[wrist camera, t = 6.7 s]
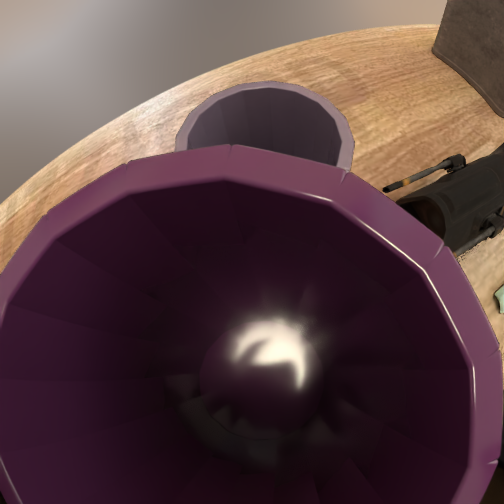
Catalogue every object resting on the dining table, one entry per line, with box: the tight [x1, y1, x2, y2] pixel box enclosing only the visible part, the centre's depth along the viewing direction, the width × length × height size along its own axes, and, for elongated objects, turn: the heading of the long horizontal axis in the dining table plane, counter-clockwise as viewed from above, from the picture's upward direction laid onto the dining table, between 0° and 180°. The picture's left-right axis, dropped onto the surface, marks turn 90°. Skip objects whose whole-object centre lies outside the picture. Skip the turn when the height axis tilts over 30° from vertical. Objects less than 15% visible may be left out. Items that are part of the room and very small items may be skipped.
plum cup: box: [0, 144, 504, 504], centre depth 8 cm, size 7×7×12 cm
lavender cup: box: [175, 81, 355, 173], centre depth 16 cm, size 7×7×12 cm
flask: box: [432, 0, 504, 118], centre depth 19 cm, size 4×14×18 cm, turn 26°
